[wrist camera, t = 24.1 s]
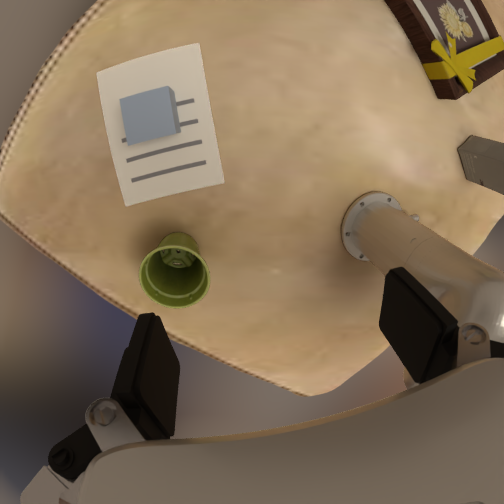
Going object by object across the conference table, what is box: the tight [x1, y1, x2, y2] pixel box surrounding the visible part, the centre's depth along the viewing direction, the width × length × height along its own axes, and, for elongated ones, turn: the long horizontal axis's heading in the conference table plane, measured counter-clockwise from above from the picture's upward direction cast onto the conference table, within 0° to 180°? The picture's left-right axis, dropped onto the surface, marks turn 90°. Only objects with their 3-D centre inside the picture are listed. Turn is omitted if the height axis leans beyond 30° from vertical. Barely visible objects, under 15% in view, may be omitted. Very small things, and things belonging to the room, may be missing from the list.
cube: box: [119, 86, 181, 146], centre depth 31 cm, size 6×6×6 cm
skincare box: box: [458, 135, 504, 195], centre depth 36 cm, size 8×7×16 cm
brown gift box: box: [384, 0, 504, 100], centre depth 26 cm, size 28×7×30 cm
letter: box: [97, 43, 225, 206], centre depth 34 cm, size 15×21×1 cm
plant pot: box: [139, 232, 210, 309], centre depth 39 cm, size 9×9×9 cm
